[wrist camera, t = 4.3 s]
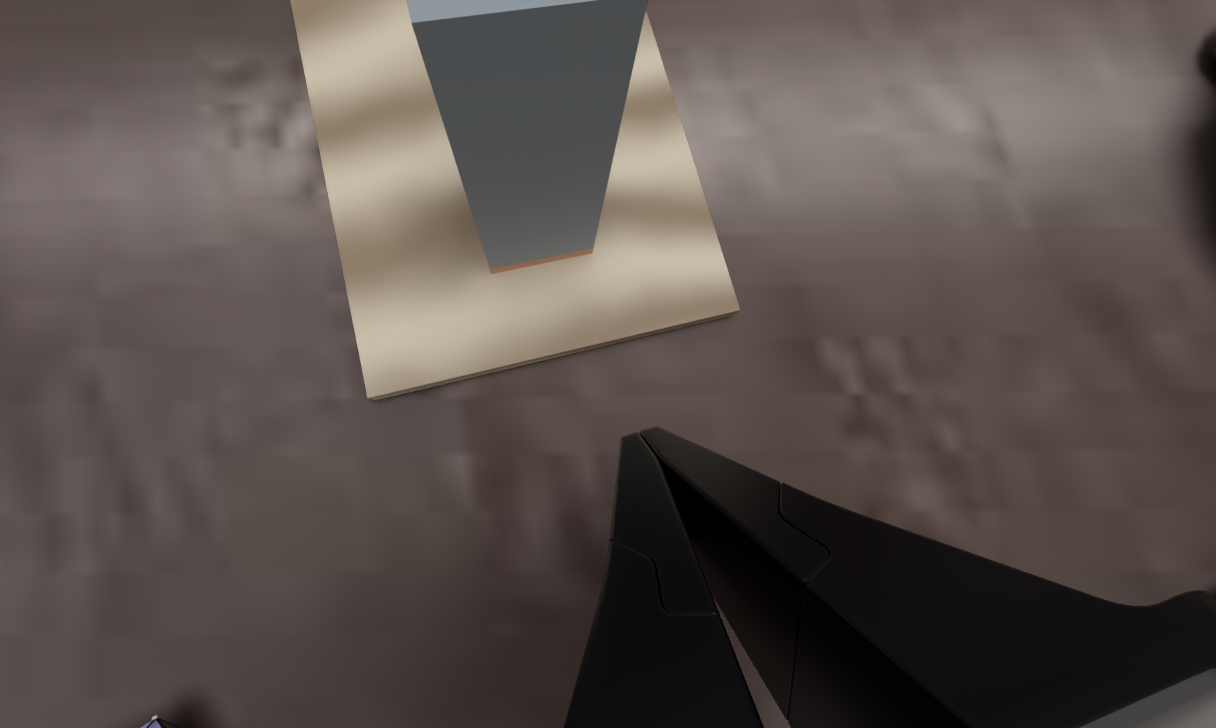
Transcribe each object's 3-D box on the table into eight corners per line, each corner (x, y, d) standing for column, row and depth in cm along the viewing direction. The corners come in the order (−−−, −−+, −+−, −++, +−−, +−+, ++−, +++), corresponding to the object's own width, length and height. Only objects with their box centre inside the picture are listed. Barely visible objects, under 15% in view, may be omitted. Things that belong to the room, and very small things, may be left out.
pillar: (592, 253, 24) (649, -6, 11) (491, 274, 23) (411, 22, 10) (567, 162, 25) (590, -191, 11) (468, 179, 24) (364, -178, 10)
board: (732, 315, 26) (740, 310, 25) (375, 400, 23) (367, 398, 22) (604, -96, 29) (606, -115, 28) (283, -67, 26) (273, -87, 26)
